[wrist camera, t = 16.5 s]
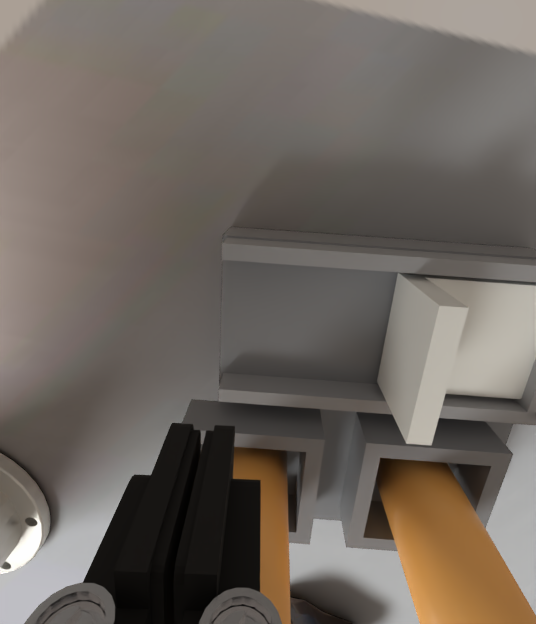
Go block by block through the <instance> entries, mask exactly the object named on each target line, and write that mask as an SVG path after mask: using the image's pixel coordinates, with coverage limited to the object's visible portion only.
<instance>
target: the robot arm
mask: <svg viewBox="0 0 536 624" xmlns="http://www.w3.org/2000/svg"><path fill="white" fill-rule="evenodd" d="M234 443H235V426H225V425H215V426H214V431H211V430H207V431H206V433H205V438H204V442H203V446H202V450H201V431H200V430H194V426H193V424H182V423H172V424H171V426H170V429H169V431H168V434H167V436H166V439H165V441H164V444H163V446H162V449H161V452H160V454H159V457H158V459H157V462H156V464H155V467H154V469H153V472H152V474H151V475H134V476H133V477H132V478H131V480H130V481H129V483H128V486H127V488H126V490H125V492H124V494H123V496H122V499H121V501H120V503H119V505H118V507H117V509H116V512H115V514H114V516H113V518H112V520H111V523H110V525H109V527H108V529H107V531H106V533H105V536H104V538H103V540H102V542H101V544H100V546H99V549H98V551H97V553H96V555H95V557H94V560H93V562H92V564H91V566H90V568H89V570H88V573H87V575H86V577H85V579H84V581H83V583H78V584H74V585H71V586H67V587H65V588H63V589H61V590H59V591H58V592H56V593H54V594H52V595H51V596H50V597H49V598H47V599H46V600H45V601H44V602H42V603H41V604H40V605H39V606H38V607H37V608H36V610H35V611H34V612H33V613H32V614H31V615H30V617H29V618H28V619H27V621H26V622H25V623H24V624H282V622H281V619H280V616H279V613H278V611H277V609H276V608H275V606H274V605H273V603H272V602H271V600H269V599H268V598H267V597H266V596H264V595H263V594H262V593H261V592H260V522H261V480H250V479H233V465H234ZM50 522H51V520H50V512H49V507H48V505H47V502H46V499H45V497H44V495H43V493H42V492H41V490H40V488H39V487H38V485H37V484H36V482H35V481H34V480H33V479H32V478H31V477H30V476H29V474H28V473H27V472H26V471H25V470H24V469H22V468H21V467H20V466H19V465H17V464H16V463H15V462H14V461H13V460H11V459H9V458H8V457H6V456H5V455H3V454H1V453H0V574H4V573H7V572H10V571H13V570H16V569H18V568H20V567H22V566H24V565H25V564H27V563H28V562H29V561H30V560H31V559H33V558H34V557H35V555H36V554H37V552H38V551H39V550H40V548H41V547H42V545H43V544H44V542H45V540H46V538H47V536H48V533H49V529H50Z"/></svg>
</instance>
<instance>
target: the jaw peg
mask: <svg viewBox="0 0 536 624" xmlns="http://www.w3.org/2000/svg"><path fill="white" fill-rule="evenodd" d="M376 483H377V486H378V489H379V492H380V496H381V499H382V502H383V505H384V509H385V512H386V515H387V518H388V522H389V525H390V528H391V531H392V534H393V538H394V541H395V544H396V547H397V551H398V554H399V557H400V560H401V564H402V567H403V570H404V573H405V577H406V580H407V583H408V586H409V589H410V593H411V596H412V599H413V602H414V606H415V609H416V612H417V615H418V619H419V622H420V624H536V615H535V614H534V612H533V610H532V608H531V607H530V605H529V603H528V601H527V600H526V598H525V596H524V595H523V593H522V591H521V589H520V588H519V586H518V584H517V582H516V581H515V579H514V577H513V576H512V574H511V572H510V570H509V569H508V567H507V565H506V563H505V562H504V560H503V558H502V557H501V555H500V553H499V551H498V550H497V548H496V546H495V545H494V543H493V541H492V539H491V538H490V536H489V534H488V532H487V531H486V529H485V527H484V526H483V524H482V522H481V520H480V519H479V517H478V515H477V513H476V512H475V510H474V508H473V507H472V505H471V503H470V501H469V500H468V498H467V496H466V494H465V493H464V491H463V489H462V488H461V486H460V484H459V482H458V481H457V479H456V477H455V475H454V474H453V472H452V470H451V469H450V467H449V465H448V463H444V462H431V461H418V460H405V459H391V458H380V462H379V466H378V471H377V476H376Z"/></svg>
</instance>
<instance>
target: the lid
mask: <svg viewBox="0 0 536 624" xmlns="http://www.w3.org/2000/svg"><path fill="white" fill-rule="evenodd" d="M535 359H536V282H525V281H511V280H497V279H483V278H469V277H455V276H441V275H427V274H413V273H399V272H398V275H397V280H396V286H395V291H394V296H393V301H392V306H391V311H390V317H389V322H388V327H387V332H386V337H385V342H384V348H383V353H382V358H381V363H380V368H379V373H378V378H377V383H378V385H379V387H380V389H381V391H382V393H383V395H384V398H385V400H386V402H387V404H388V406H389V408H390V410H391V412H392V414H393V417H394V419H395V421H396V423H397V425H398V427H399V429H400V431H401V434H402V436H403V438H404V440H405V442H406V444H419V445H432V442H433V438H434V434H435V431H436V427H437V423H438V420H439V416H440V412H441V409H442V405H443V401H444V398H445V394H456V395H470V396H483V397H497V398H510V399H521V398H522V395H523V392H524V389H525V387H526V384H527V381H528V378H529V375H530V373H531V370H532V367H533V364H534V361H535Z"/></svg>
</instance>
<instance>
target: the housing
mask: <svg viewBox="0 0 536 624" xmlns="http://www.w3.org/2000/svg"><path fill="white" fill-rule="evenodd" d="M221 260H222V288H221V334H220V379H219V393H218V401H206V400H193V399H192V400H191V402H190V405H189V407H188V410H187V412H186V415H185V417H184V420H183V422H182V424H193V426H194V430H200V431H201V450H202V446H203V442H204V438H205V433H206V431H207V430H211V431H214V426H215V425H225V426H235V443H234V465H233V479H250V480H261V522H260V592H261V593H262V594H263V595H264V596H266V597H267V598H268V599H269V600H271V602H272V603H273V605H274V606H275V608H276V609H277V611H278V613H279V616H280V619H281V622H282V624H291V615H290V570H289V543H299V544H310V538H311V531H312V525H313V519H326V520H339V521H342V526H343V532H344V538H345V543H346V547H351V548H363V549H376V550H389V551H397V547H396V544H395V541H394V538H393V534H392V531H391V528H390V525H389V522H388V518H387V515H386V512H385V509H384V505H383V502H382V499H381V496H380V492H379V489H378V486H377V483H376V476H377V471H378V466H379V462H380V458H391V459H405V460H418V461H431V462H444V463H448V465H449V467H450V469H451V470H452V472H453V474H454V475H455V477H456V479H457V481H458V482H459V484H460V486H461V488H462V489H463V491H464V493H465V494H466V496H467V498H468V500H469V501H470V503H471V505H472V507H473V508H474V510H475V512H476V513H477V515H478V517H479V519H480V520H481V522H482V524H483V526H484V527H485V528H486V525H487V523H488V520H489V517H490V514H491V512H492V509H493V506H494V504H495V501H496V498H497V496H498V493H499V490H500V488H501V485H502V482H503V479H504V477H505V474H506V471H507V469H508V466H509V463H510V461H511V458H512V455H513V454H512V452H511V451H510V450H509V449H508V448H507V447H506V442H507V439H508V436H509V434H510V431H511V428H512V425H513V424H527V425H536V359H535V361H534V364H533V367H532V370H531V373H530V375H529V378H528V381H527V384H526V387H525V389H524V392H523V395H522V398H521V399H510V398H497V397H483V396H470V395H456V394H445V398H444V401H443V405H442V409H441V412H440V416H439V420H438V423H437V427H436V431H435V434H434V438H433V442H432V445H419V444H406V442H405V440H404V438H403V436H402V434H401V431H400V429H399V427H398V425H397V423H396V421H395V419H394V417H393V414H392V412H391V410H390V408H389V406H388V404H387V402H386V400H385V398H384V395H383V393H382V391H381V389H380V387H379V385H378V383H377V378H378V373H379V368H380V363H381V358H382V353H383V348H384V342H385V337H386V332H387V327H388V322H389V317H390V311H391V306H392V301H393V296H394V291H395V286H396V280H397V275H398V272H399V273H413V274H427V275H441V276H455V277H469V278H483V279H497V280H511V281H525V282H536V250H535V249H531V248H523V247H508V246H494V245H480V244H466V243H452V242H438V241H424V240H410V239H396V238H381V237H367V236H353V235H339V234H325V233H311V232H297V231H283V230H269V229H255V228H240V227H230V228H229V229H228V230H227V231H226V232H225V233H224V234H223V242H222V252H221Z"/></svg>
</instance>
